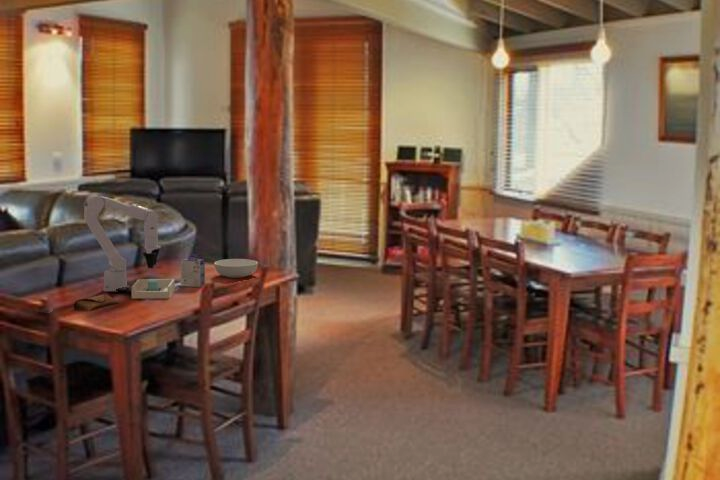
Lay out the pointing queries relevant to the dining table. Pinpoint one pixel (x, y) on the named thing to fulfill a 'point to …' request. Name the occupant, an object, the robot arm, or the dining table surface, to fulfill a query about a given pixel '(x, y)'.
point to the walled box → (164, 291)
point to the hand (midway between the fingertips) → (152, 266)
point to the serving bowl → (236, 267)
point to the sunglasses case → (94, 302)
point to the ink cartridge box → (193, 272)
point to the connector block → (153, 285)
